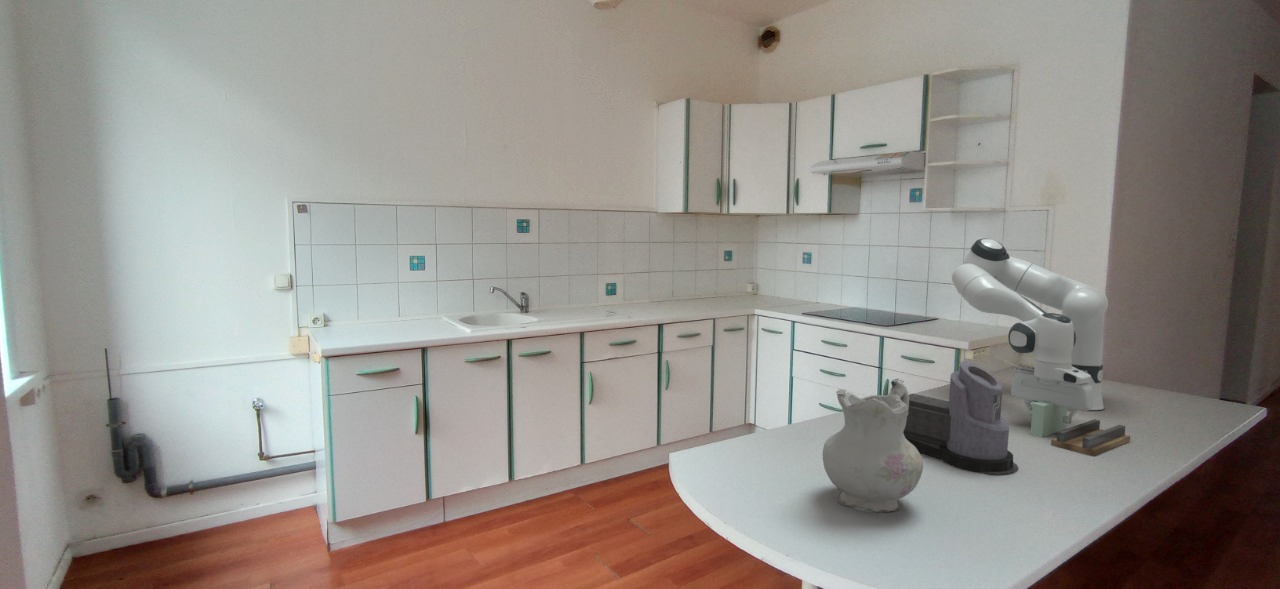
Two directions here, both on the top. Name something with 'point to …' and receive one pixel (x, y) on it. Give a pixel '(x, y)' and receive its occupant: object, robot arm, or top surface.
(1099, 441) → the bottom track
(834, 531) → the top surface
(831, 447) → the ceramic pitcher
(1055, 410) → the door panel
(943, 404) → the juicer
